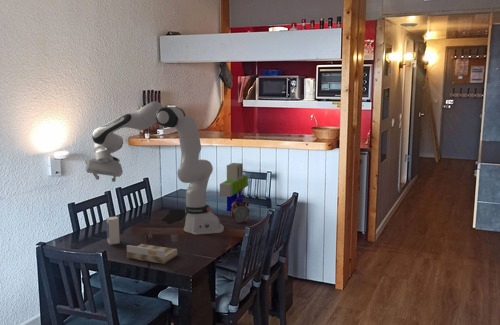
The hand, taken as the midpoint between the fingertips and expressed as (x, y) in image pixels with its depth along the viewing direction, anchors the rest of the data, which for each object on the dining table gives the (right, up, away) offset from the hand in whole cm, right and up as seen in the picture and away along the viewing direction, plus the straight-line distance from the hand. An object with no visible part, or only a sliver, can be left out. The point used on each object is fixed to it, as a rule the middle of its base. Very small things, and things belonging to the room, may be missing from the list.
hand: (105, 180), depth 263 cm
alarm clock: (+74, -26, +17) cm, 80 cm away
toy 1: (+33, -24, +30) cm, 51 cm away
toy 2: (+70, -21, +45) cm, 86 cm away
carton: (+10, -31, -19) cm, 38 cm away
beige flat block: (+34, -35, -38) cm, 62 cm away
